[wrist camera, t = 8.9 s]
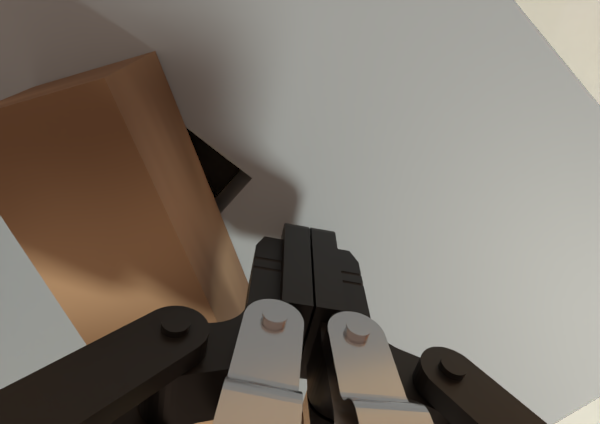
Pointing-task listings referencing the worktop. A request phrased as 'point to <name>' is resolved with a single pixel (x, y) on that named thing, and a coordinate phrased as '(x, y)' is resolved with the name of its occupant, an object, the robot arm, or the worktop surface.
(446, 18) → the board
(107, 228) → the link
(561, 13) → the worktop surface
